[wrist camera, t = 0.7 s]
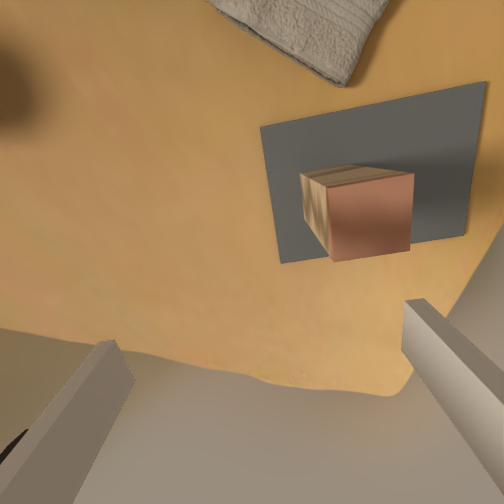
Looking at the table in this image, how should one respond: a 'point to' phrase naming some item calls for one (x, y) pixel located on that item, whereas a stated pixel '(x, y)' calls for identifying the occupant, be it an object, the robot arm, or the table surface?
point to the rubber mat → (380, 160)
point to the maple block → (359, 210)
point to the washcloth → (309, 30)
